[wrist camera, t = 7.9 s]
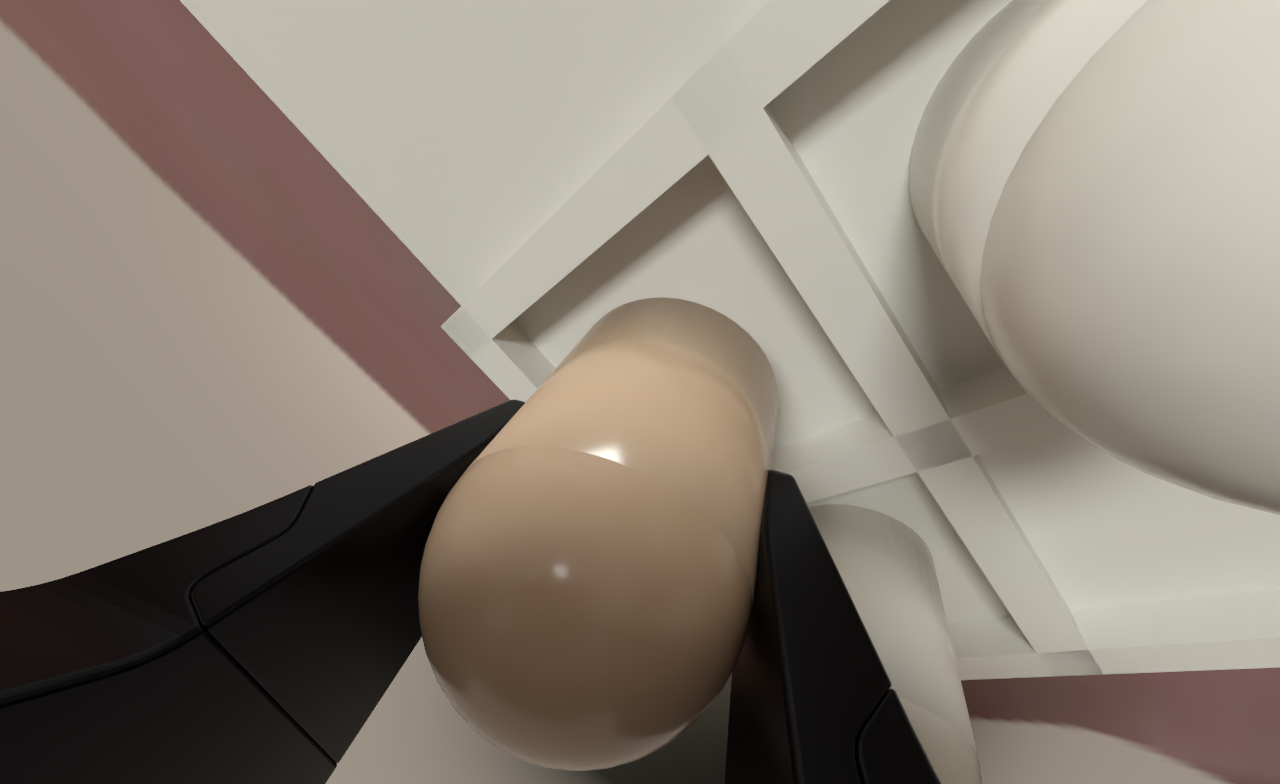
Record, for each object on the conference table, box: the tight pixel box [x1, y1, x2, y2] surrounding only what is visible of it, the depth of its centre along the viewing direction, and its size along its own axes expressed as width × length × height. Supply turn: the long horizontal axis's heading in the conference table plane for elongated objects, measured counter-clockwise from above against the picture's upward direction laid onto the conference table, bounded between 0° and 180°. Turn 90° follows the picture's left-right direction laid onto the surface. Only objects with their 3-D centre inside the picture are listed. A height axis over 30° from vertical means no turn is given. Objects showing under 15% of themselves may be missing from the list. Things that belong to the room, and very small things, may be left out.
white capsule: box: [808, 504, 982, 784], centre depth 10 cm, size 4×4×7 cm
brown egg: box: [418, 297, 778, 771], centre depth 7 cm, size 4×4×7 cm
